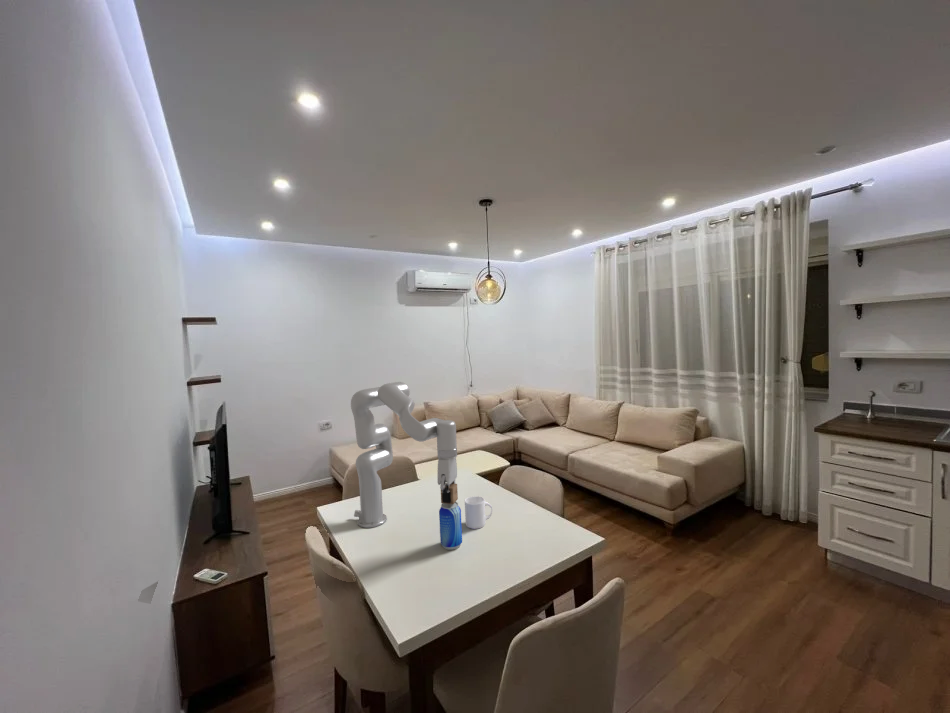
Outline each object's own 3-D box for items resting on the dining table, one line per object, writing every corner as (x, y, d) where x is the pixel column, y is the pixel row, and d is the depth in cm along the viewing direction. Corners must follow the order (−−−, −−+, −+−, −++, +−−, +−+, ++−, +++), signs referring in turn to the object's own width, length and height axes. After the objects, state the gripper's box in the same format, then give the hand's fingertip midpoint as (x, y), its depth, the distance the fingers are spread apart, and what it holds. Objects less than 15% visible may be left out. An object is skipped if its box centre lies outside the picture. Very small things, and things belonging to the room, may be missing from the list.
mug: (495, 526, 164) (494, 501, 163) (468, 530, 161) (467, 505, 160) (489, 517, 172) (488, 493, 172) (463, 521, 169) (462, 497, 168)
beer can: (436, 546, 149) (434, 505, 149) (451, 537, 156) (450, 498, 155) (451, 553, 144) (449, 511, 143) (466, 544, 150) (465, 503, 149)
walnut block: (441, 503, 147) (440, 487, 147) (445, 498, 152) (445, 483, 152) (453, 504, 146) (452, 488, 146) (457, 498, 151) (457, 483, 151)
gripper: (445, 446, 158) (447, 490, 158) (429, 459, 141) (431, 508, 142) (463, 447, 156) (465, 491, 156) (448, 460, 139) (451, 509, 140)
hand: (449, 499), depth 149 cm, fingers closed on walnut block, 4 cm apart
